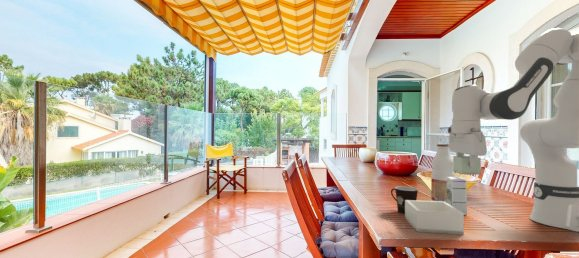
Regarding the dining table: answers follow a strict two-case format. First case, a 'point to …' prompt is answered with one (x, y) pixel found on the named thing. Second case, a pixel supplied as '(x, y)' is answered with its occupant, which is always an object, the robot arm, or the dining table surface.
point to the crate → (434, 217)
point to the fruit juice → (441, 173)
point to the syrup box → (457, 193)
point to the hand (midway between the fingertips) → (466, 165)
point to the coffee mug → (404, 196)
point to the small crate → (466, 165)
